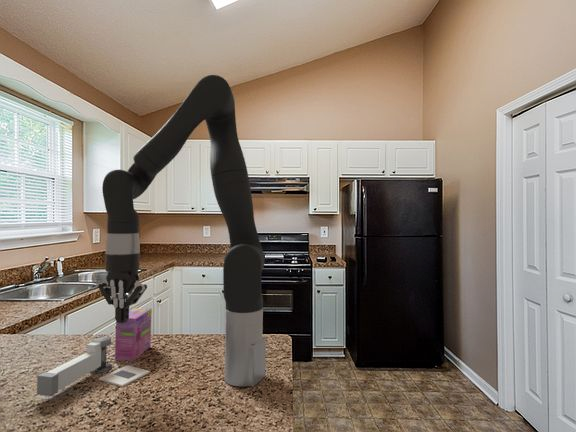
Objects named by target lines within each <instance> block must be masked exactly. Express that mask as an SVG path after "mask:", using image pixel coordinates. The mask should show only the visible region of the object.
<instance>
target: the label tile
mask: <svg viewBox="0 0 576 432" xmlns="http://www.w3.org/2000/svg"><path fill="white" fill-rule="evenodd" d="M150 373H151V371H150V370H147V369H143V368H139V367H136V366H132V365H129V364H127V365H125V366H123V367H120V368H118V369H116V370H114V371H112V372H108V374H105V375H103V376H101V377H99V378H98V380H99V381H102V382H105V383H108V384H112V385H114V386H119V387H121V388H123V387H125V386H127V385H129V384H131V383H133V382H135V381H136V380H138V379H140V378H142V377H144V376H146V375H148V374H150Z"/></svg>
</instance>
